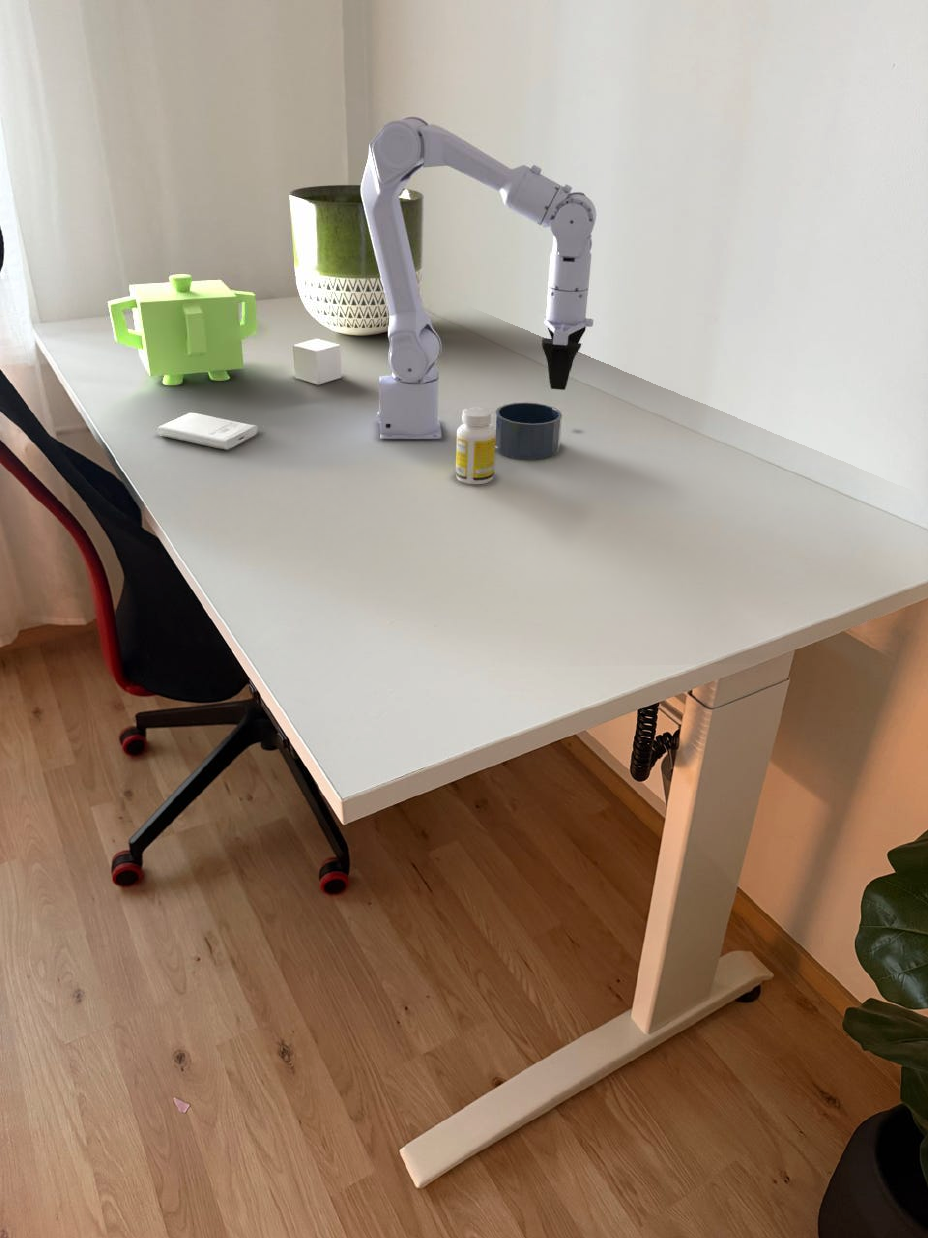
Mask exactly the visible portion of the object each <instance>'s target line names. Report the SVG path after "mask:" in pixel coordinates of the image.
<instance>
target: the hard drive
mask: <svg viewBox="0 0 928 1238" xmlns="http://www.w3.org/2000/svg"><path fill="white" fill-rule="evenodd" d="M257 434H258V426H257V425H255V424H248V423H244V422H239V421H234V420H230V419H225V418H221V417H215V416H210V415H206V414H202V413H196V412H188V413H186V414H184V415H182V416H180V417H177V418H175V419H173V420H171V421H169V422H166V423H164V424H162V425H160V426H159V427H158V435H159V436H161V437H165V438H169V439H174V440H179V441H183V442H188V443H192V444H197V445H201V446H205V447H211V448H214V449H215V448H216V449H220V450H230V449H232V448H234V447H235V446H238V445H240V444H241V443H243V442H245V441H247V440H249V439H251V438H253V437H255V436H256V435H257Z"/></svg>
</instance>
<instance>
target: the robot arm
mask: <svg viewBox="0 0 928 1238" xmlns="http://www.w3.org/2000/svg"><path fill="white" fill-rule="evenodd" d="M365 165H366V166H365V169H364V172H363V177H362V181H361V184H360V185H361V196H362V200H363V204H364V209H365V213H366V217H367V221H368V226H369V230H370V234H371V238H372V243H373V247H374V251H375V255H376V260H377V264H378V268H379V272H380V277H381V281H382V285H383V289H384V294H385V298H386V302H387V306H388V310H389V315H390V322H389V330H388V331H387V338H388V341H389V350H388V354H387V363H388V366H389V367H388V368H389V369H390V371H391V374H389V375H380V376H379V411H377V423H378V424H379V428H380V429H379V432H380V436H379V437H380V438H379V439H381V440H441V439H442V431H441V424H440V420H439V375H440V374H439V371H438V369H437V367H436V364H435V363H436V362H437V361H438V359H439V358H440V357H441V353H442V348H443V347H442V340H441V338H440V336H439V334H438V333H437V332H436V330H435V329H434V327H433V325H432V322H431V317H430V315H429V313H428V312H427V311H426V310H425V308H424V306H423V301H422V296H421V291H420V292H419V287H418V282H417V278H416V273H415V269H414V264H413V260H412V255H411V250H410V246H409V241H408V237H407V232H406V228H405V223H404V218H403V214H402V209H401V205H400V200H399V195H400V193H401V192H402V190H403V189H405V187H406V186H407V184H408V182H409V181H410V179H411V177H412V176H413V175H414V174H415V173H416V172H417V171H419V170H420V169H421V168H422V167H423V168H433V167H434V168H436V167H450V168H452V169H454V170H455V171H458V172H460V173H461V174H463V175H466V176H468V177H469V178H472V179H474V180H476V181H478V182H480V183H482V184H483V185H486V186H488V187H490V188H491V189H494V190H495V191H497V192H499V194H500V195H501V199H502V201H503V205H504V206H505V207H507V208H508V209H509V210H512V211H513V212H515V213H516V214H519V215H520V216H522V217H524V218H526V219H528V220H530V221H531V222H533V223H535V224H536V225H538V226H541V227H542V228H550V231H551V234H552V235H553V238H552V251H551V252H550V257H549V258H550V259H549V272H548V273H549V274H548V284H547V285H548V286H547V297H546V298H547V300H546V311H545V316H544V319H543V320H544V321H543V323H544V325H545V326H546V327H547V330H548V332H549V336H550V338H545V337H543V338H542V339H541V341H540V345H541V349H542V351H543V354H544V355H545V359H546V363H547V371H548V380H549V386H550V389H551V390H558V391H565V390H566V389H567V388H566V387H567V386H568V385H567V384H568V381H569V377H570V373H571V371H572V368H573V364H574V360H575V358H576V356H577V354H578V352H579V351H580V350H581V347H582V343H580V341H581V338H582V337H583V335H584V333H585V332H586V330H587V329H586V328H587V327H588V328H591V327H593V326H594V319H593V318H586V316H587V305H588V295H589V285H590V275H591V265H592V253H591V249H592V246H593V240H592V232H593V231H594V227H595V224H596V221H597V210H596V206H595V204H594V202H593V201H592V200H591V199H590V198H589V197H588V196H586V194H585V192H581V191H574V192H572V190H573V187H572V186H570V185H569V184H568V183H566V184H565V185H564V186H563V185H561V184H559V183H558V182H555V181H554V180H553V179H550V178H548V177H547V176H545V175H543V174H541V172H542V168H541V167H539V166H537V165H536V164H533V165H532V166H531V167H529V166H527V165H525V164H522V165H519V166H517V167H515V168H510V167H508V166H507V165H506V164H503V163H502V162H500V161H499V160H497V159H496V158H494V157H493V156H490V155H489V154H487V153H486V152H484V151H482V150H481V149H479V148H477V147H476V146H474V145H472V144H471V143H470V142H468V141H466V140H464V139H463V138H461V137H460V136H458V135H456V134H454V133H453V132H451V131H449V130H447V129H445V128H443V127H441V126H439V125H436V124H433V123H431V124H429V123H428V122H427V121H426V120H424V119H423V118H420V117H417V116H408V117H406V118H403V119H401V120H392V121H389V122H386V123H385V124H384V125H383V126H382V127H381V128H380V129H379V130H378V132H377V133H376V134H375V136H374V137H373V138H372V140H371V141H370V142H369V145H368V158H367V162H366V164H365Z"/></svg>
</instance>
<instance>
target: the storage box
mask: <svg viewBox="0 0 928 1238" xmlns="http://www.w3.org/2000/svg"><path fill="white" fill-rule="evenodd" d="M168 279H169V282H157V283H140V284H139V283H138V284H129V292H130V295H128V296H125V297H120V298H115V299H112V300H108V301H107V303H108V310H109V314H110V319H111V324H112V328H113V334H114V339H115V341H116V344H120V345H123V346H126V347H130V348H134V349H137V350H138V355H139V357H140V359H141V361H142V363H143V365H144V367H145V370H146V371H147V373H148V375H149V377H150V378H153V377H163V379H162V385H166V386H177V385H180V384H183V380H184V375H187V374H198V373H199V374H200V373H206V372H207V373H208V376H209V378H210V380H212V381H217V382H218V381H219V382H222V381H227V380H230V378H231V377H230V375H229V374H228V372H227V371H231V370H242V369H245V367H244V365H245V364H244V354H243V343H242V341H243V340H245V339H247V338H249V337H251V336H253V335H255V334H256V333H258V332H259V331H258V310H257V295H256V294H255V293H253V292H251V291H242V290H234V289H230V288H229V287H228V285H226V284H225V283H224V282H223V281H222V280H221V279H211V280H193V275H190V274H185V273H184V274H183V273H182V274H180V273H179V274H173V275H170V276H169V277H168ZM239 303H241V320H240V311H239ZM124 310H132V314H133V320H134V327H135V330H134V329H129V328H128V325H127V321H126V318H125V315H124Z"/></svg>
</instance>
